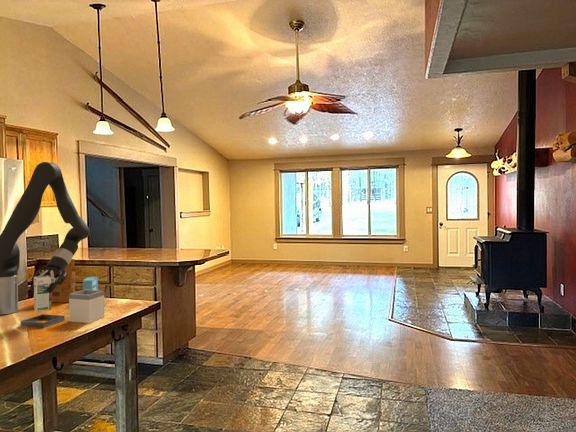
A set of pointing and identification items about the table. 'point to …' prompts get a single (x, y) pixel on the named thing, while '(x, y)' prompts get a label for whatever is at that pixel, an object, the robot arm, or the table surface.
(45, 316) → the lower collar
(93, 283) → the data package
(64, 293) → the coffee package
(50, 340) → the table surface
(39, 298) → the syrup box
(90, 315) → the raised dock
